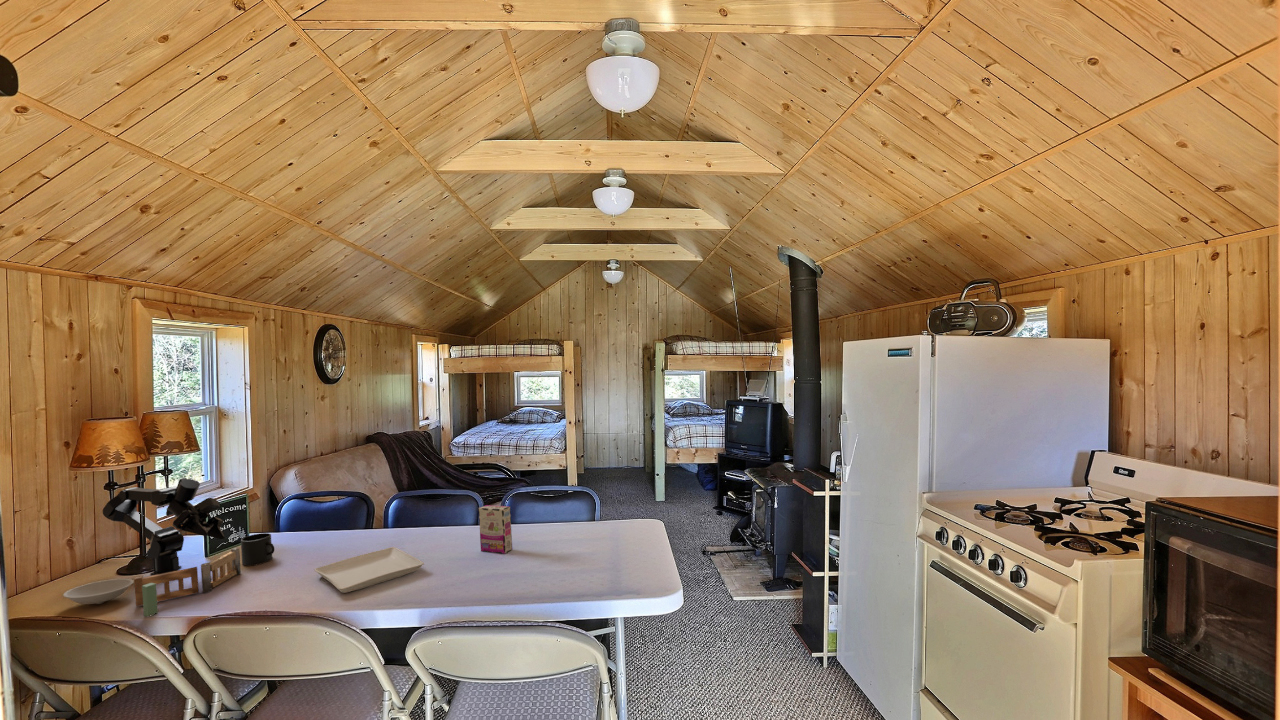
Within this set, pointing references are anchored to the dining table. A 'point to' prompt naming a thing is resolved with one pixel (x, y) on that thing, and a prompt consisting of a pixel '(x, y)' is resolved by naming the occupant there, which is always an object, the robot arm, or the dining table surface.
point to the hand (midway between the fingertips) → (215, 536)
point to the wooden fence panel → (232, 569)
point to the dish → (98, 591)
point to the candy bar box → (495, 529)
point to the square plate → (369, 569)
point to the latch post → (149, 599)
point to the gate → (166, 579)
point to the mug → (256, 549)
